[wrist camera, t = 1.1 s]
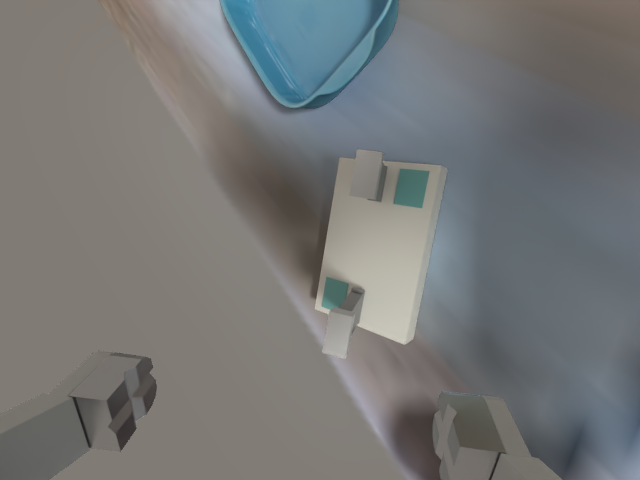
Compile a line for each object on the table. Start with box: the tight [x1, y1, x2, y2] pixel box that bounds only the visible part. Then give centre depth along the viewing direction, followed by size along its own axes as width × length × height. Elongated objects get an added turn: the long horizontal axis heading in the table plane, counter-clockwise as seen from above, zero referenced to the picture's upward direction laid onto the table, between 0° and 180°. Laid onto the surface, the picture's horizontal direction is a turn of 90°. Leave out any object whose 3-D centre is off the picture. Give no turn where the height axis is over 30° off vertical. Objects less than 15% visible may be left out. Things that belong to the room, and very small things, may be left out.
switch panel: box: [315, 157, 448, 345], centre depth 45 cm, size 14×22×3 cm, turn 169°
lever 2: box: [349, 149, 388, 202], centre depth 37 cm, size 2×4×12 cm, turn 169°
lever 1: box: [323, 287, 365, 359], centre depth 39 cm, size 2×4×12 cm, turn 169°
